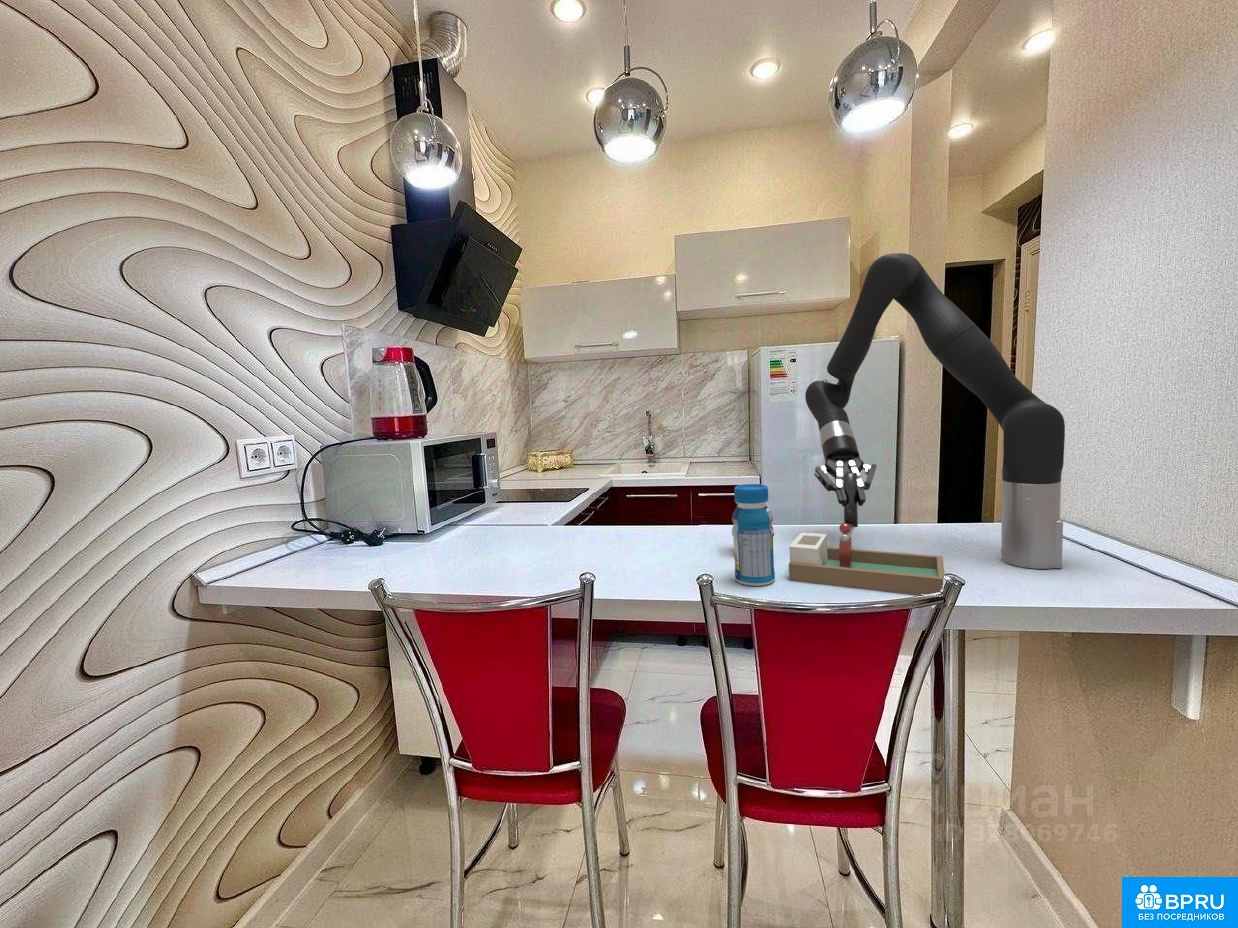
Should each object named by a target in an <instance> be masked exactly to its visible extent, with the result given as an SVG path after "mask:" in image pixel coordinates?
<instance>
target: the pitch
mask: <svg viewBox="0 0 1238 928" xmlns="http://www.w3.org/2000/svg"><path fill="white" fill-rule="evenodd" d="M788 548H789V563H788V580H789V581H793V582H801V583H810V584H811V583H812V584H818V585H819V584H820V585H827V586H837V587H846V588H855V589H863V590H870V591H871V590H872V591H880V592H890V593H897V594H905V595H912V596H921V594H931V593H936V592H939V591H940V590H941V588H942V585H943V577H944V574H945V575H946V573H945V572H946V571H945V565H944V559H943V558H944V557H943V556H942V555H931V554H921V553H907V552H906V553H905V552H897V551H896V552H894V551H893V552H892V551H882V550H870V549H869V550H866V549H858V548H857V549H855V548H852V568H846V567H840V555H839V547H832V546H831V547H830V546H828V533H816V532H800V533H799V535H798V536H797V537H796V538H795V539H794V541H793V542H792V543H791V544H790V545H789V547H788ZM820 558H821V560H822V565H820Z"/></svg>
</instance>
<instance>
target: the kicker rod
mask: <svg viewBox="0 0 1238 928" xmlns="http://www.w3.org/2000/svg"><path fill="white" fill-rule="evenodd" d="M842 482H843V486H842V488H844V490H845V494H846V499H847V504H846V506H843V522H842V523H841V524H840V525H839V528H838V529H839V532H841V536H840V537H839V539H838V545H839V547H838V548H839V555H840V567H846V568H852V549H853V548H852V547H853V546H852V545H853V544H852V535H853V532H854V530H855V528H858V527H859V515H858V514H859V513H858V509H859V508H858V507H859V505H858V501H857V473H855V472H845V473H843V481H842Z"/></svg>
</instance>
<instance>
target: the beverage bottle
mask: <svg viewBox="0 0 1238 928" xmlns="http://www.w3.org/2000/svg"><path fill="white" fill-rule="evenodd" d="M733 491H734V502H735V504H736V507H735V509H734V511H733V513H732V516H731V517H732V518H731V521H732V523H733V526H732V528H731V535H732V537H733V553H734V579H735V581H737V583H739V584H742V585H745V586H751V587H760V586H761V587H763V586H767V585H770V584H772V583H774V582H775V580H776V572H775V564H774V563H775V562H774V561H775V560H774V559H775V558H774V536H775V529H774V527H773V525H772V522H773V521H774V519H773V518H774V517H773V514H772V512H771V510H770V508H769V507H768V506H767V505H766V504H767V503H768V501H769V487H768V485H765V484H759V483H746V484H745V483H744V484H739V485H736V486H734V490H733ZM737 504H738V506H737Z"/></svg>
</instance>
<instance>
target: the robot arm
mask: <svg viewBox="0 0 1238 928" xmlns="http://www.w3.org/2000/svg"><path fill="white" fill-rule="evenodd" d="M893 300H894V301H895V302H897V303H898V304H899V305H900V306H901V307H902V308H903V309H904V310H905V311H906V312H907V313H908V314H909V315H910V316H911V318H912V319H913V321H914V323H915V324H916V326H917V329H918V331H919V333H920V336H921V337H922V339H923V343H925V345H926V347H927V349H928V350H929V351H930V353H931V354H932V356H934V357H935V359H936V360H937V361H938V362H939V363H940V364H941V366H943V368H944V369H945V370H947V372H949V373H950V374H951V376H953V378H955V379H956V380H957V381H959V382H960V384H962V385H963V386H964V387H965V388H966V389H968V390H969V391H970V392H972V393H973V394H974V395H975V396H976V397H978V398H979V400H981V402H982V403H983V404H984V406H985V407H986V408H987V409H988V410H989V412H990V413H991V414H992V416H993V418H995V421H996V422H997V423H998V424H999V426H1000V428H1001V430H1002V432H1003V437H1002V438H1003V439H1002V441H1003V444H1002V445H1003V446H1002V447H1003V449H1002V451H1003V452H1002V454H1003V455H1002V469H1001V475H1002V476H1001V477H1002V479H1001V480H1002V481H1001V533H1000V534H1001V539H1000V540H1001V542H1000V543H1001V547H1000V555H1001V560H1000V561H1003V562H1004V563H1006V564H1008V565H1013V566H1015V567H1021V568H1027V569H1037V570H1038V569H1039V570H1045V569H1046V570H1049V569H1062V568H1063V545H1064V544H1063V539H1064V538H1063V537H1064V535H1063V534H1064V522H1063V521H1062V520H1061V494H1062V493H1061V491H1062V474H1063V473H1062V472H1063V468H1064V462H1065V461H1064V459H1065V458H1064V457H1065V443H1066V442H1065V438H1066V437H1065V435H1066V425H1065V423H1066V422H1065V419H1064V416H1063V414H1062V413H1061V411H1059V409H1057V408H1056V407H1054V406H1053V405H1050V404H1048V403H1046V402H1045V401H1043V400H1042V399H1041V398H1040V397H1038V396H1037V395H1036V394H1034V393H1033V392H1032V391H1031V390H1030V389H1029V388H1028V387H1026V385H1024V384H1023V383H1022V382H1021V381H1020V380H1019V379H1018V378H1017V376H1016V375H1015V374H1014V373H1013V371H1012V370H1011V367H1009V365H1008V364H1007V362H1006V360H1005V359H1004V357H1003V356H1002V354H1001V352H1000V351H999V350H998V348H997V347H996V345H994V343H993V342H992V341H991V340H990V338H989V337H988V336H987V335H986V334H985V333H984V332H983V331H982V330H981V328H979V326H977V325H976V324H975V322H973V321H972V320H971V319H970V318H969V316H968V315H967V314H965V313H964V311H962V310H961V309H960V308H959V307H958V306H957V305H956V304H955V303H954V302H953V301H952V300H950V299H949V297H947V296H946V295H945V294H944V293H943V292H942V291H941V289H939V287H938V286H937V285H936V283H935V282H934V280H932V278H931V277H930V276H929V274H928V272H927V271H926V270H925V268H924V266H923V265H922V264H921V263H920V261H919V260H918V259H917V258H916V257H915V256H914V255H911V254H908V253H904V252H903V253H902V252H898V253H897V252H896V253H894V252H893V253H887V254H883V255H882V256H880V257H878V258H877V259H875V261H873V263H872V264H871V265H870V266H869V269H868V271H867V273H866V275H865V278H864V281H863V284H862V288H861V290H860V293H859V296H858V299H857V301H856V304H855V307H854V310H853V313H852V315H851V318H850V319H849V323H848V324H847V326H846V329H845V331H844V333H843V335H842V336H841V339H840V341H839V343H838V344H837V347H836V348H835V350H834V352H833V354H832V355H831V357H830V360H829V362H828V364H827V365H826V371H827V374H829V375H830V376H831V377H833V378H835V379H837V380H838V381H837V382H836V383H832V382H828V381H824V380H823V381H822V380H815V381H812V382H811V383H809V385H808V386H807V388H806V390H805V395H804V397H805V402H806V405H807V408H808V410H809V411H810V412H811V414H812V416H813V418H814V419H815V420H816V422H817V425H818V426H817V427H818V429H819V435H820V436H819V437H820V446H821V448H822V454H823V458H824V465H822V466H819V465H818V466H815V468H814V474H813V475H814V476H815V478H816V479H817V480H818V481H819V483H821V485H822V486H823V487H824V489H825V490H826V491H827V492H835V493H836V498H837V499H836V500H837V503H838V504H839V505H841V507H844V506H846V504H847V499H846V494H845V490H844V488H843V473H845V472H855V473H857V504H858V507H863V505H864V504H865V503H866V500H867V497H866V493H865V491H869V490H870V488H871V485H872V482H873V481H874V477H875V473H876V469H877V467H878V466H877V464H875V463H871V464H870V465H869V464H867V463H866V464H865V462H864V461H863V460H862V459H861V456H860V452H859V449H858V446H857V441H856V438H855V434H854V431H853V429H852V427H851V423H850V421H849V416H848V413H847V412H846V410H845V408H846V407H847V405H848V403H849V401H850V397H851V392H852V388H853V384H854V382H855V377H856V375H857V373H858V371H859V369H860V367H861V366H862V364H863V362H864V360H865V358H866V357H867V355H868V352H869V351H870V348H871V345H872V342H873V339H874V335H875V333H876V329H877V327H878V324H879V323H880V320H881V318H882V316H883V314H884V313H885V312H886V310H887V309H888V307H889V306H890V304H891V303H892V302H893ZM862 471H864V474H865V475H866V479H865V481H863V480H862V477H861V474H860V473H861V472H862ZM827 473H828V474H829V475H830V476H832V477H833V478H834V481H833V479H831V478H830V476H828V474H827Z"/></svg>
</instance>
